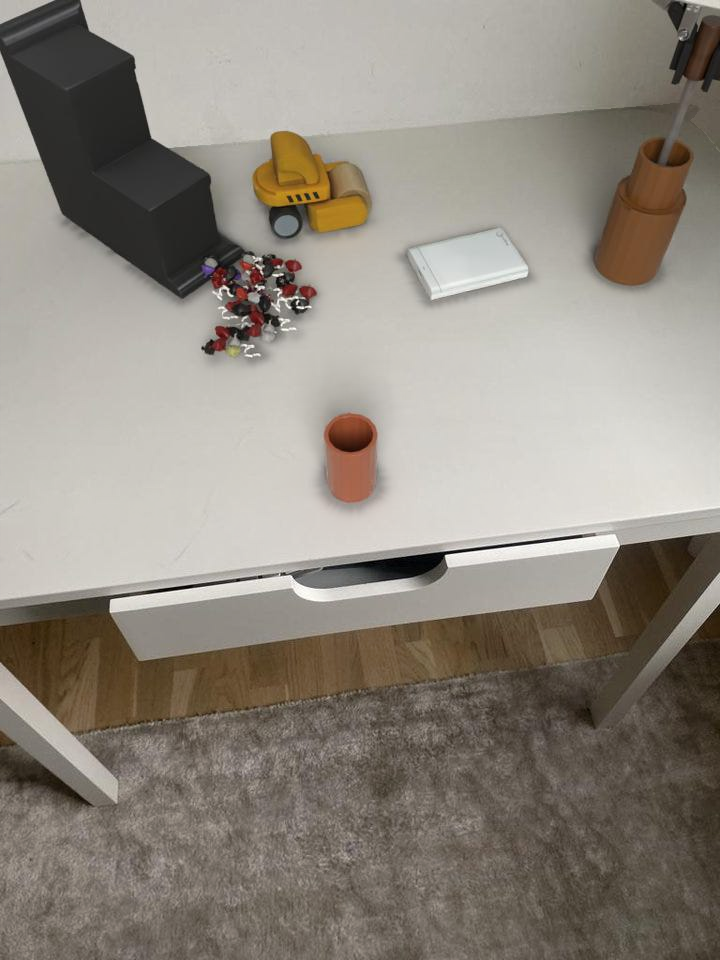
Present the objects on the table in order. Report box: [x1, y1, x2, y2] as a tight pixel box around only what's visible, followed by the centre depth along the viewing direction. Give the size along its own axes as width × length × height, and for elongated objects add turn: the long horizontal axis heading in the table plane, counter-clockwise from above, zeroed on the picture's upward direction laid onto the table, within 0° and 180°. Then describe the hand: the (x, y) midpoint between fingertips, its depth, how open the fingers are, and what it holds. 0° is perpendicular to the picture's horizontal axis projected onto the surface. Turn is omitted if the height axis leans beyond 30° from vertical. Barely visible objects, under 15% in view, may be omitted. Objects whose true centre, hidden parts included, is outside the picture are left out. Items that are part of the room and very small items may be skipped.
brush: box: [650, 14, 720, 167], centre depth 78 cm, size 3×3×20 cm
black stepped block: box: [0, 0, 246, 299], centre depth 86 cm, size 23×11×24 cm, turn 49°
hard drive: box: [406, 227, 530, 301], centre depth 92 cm, size 2×8×12 cm
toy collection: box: [200, 250, 318, 358], centre depth 87 cm, size 15×14×5 cm
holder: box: [323, 412, 378, 504], centre depth 72 cm, size 5×5×8 cm
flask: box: [593, 136, 695, 286], centre depth 87 cm, size 8×8×15 cm
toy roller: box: [252, 130, 373, 240], centre depth 94 cm, size 9×14×10 cm, turn 103°
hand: (692, 79), depth 74 cm, fingers closed on brush, 2 cm apart
